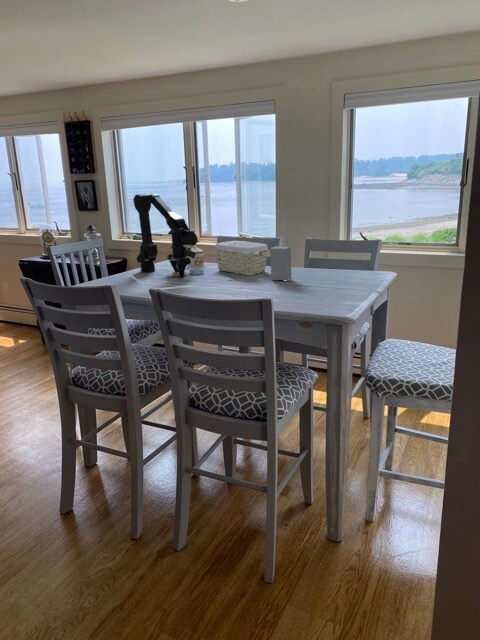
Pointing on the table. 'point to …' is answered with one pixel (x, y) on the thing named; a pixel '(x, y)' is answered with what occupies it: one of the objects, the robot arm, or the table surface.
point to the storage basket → (241, 257)
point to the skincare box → (280, 263)
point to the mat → (180, 277)
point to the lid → (177, 275)
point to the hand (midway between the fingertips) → (179, 276)
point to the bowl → (196, 271)
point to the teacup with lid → (197, 258)
